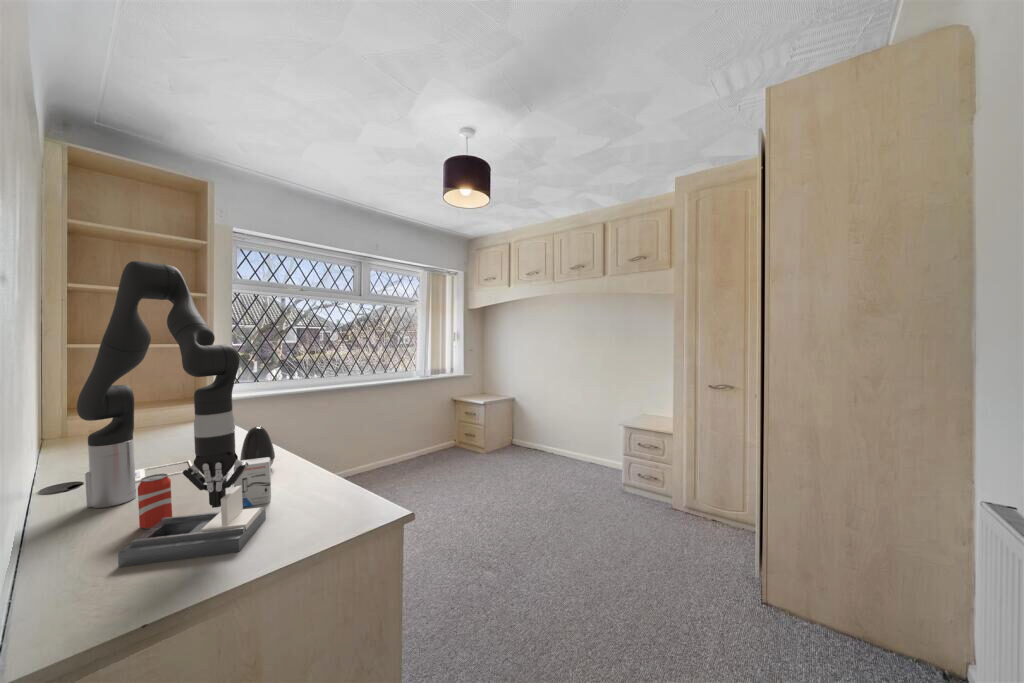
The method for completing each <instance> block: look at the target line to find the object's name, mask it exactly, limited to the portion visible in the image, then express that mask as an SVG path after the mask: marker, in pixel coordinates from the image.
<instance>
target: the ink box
mask: <svg viewBox="0 0 1024 683" xmlns="http://www.w3.org/2000/svg"><path fill="white" fill-rule="evenodd" d="M241 462H243V463H244V462H247V463H248V466H247V468H246V469H245V470H244V472H243V473H242V474H241V475H240V477H239V478H238V479H237V480H236V482H235V483H234V484H233V488H234V487H236V486H242V503H243V508H247V507H252V506H254V507H255V506H258V505H259V506H260V505H265V504H269V503H271V500H272V482H271V481H272V480H271V479H272V478H271V476H272V475H271V466H270V458H269V457H266V458H258V459H250V460H242V461H241ZM234 467H235V465H233V468H234ZM234 472H235V470H234V469H233V473H234Z"/></svg>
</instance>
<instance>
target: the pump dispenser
mask: <svg viewBox="0 0 1024 683" xmlns="http://www.w3.org/2000/svg"><path fill="white" fill-rule="evenodd" d="M275 453H276V452H275V448H274V445H273V442H272V439H271V437H270V435H269V433H268V431H267V430H266V429H265V428H264V427H263V426H262V425H260V426H253V427H252V428H250V429H249V430H248V431H247V433H246V434H245V437H244V440H243V443H242V447H241V451H240V458H239V460H240V461H242V460H250V459H258V458H266V457H269V458H270V467H272V465H273V463H274V460H275V458H276V454H275Z"/></svg>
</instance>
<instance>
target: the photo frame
mask: <svg viewBox="0 0 1024 683" xmlns="http://www.w3.org/2000/svg"><path fill="white" fill-rule="evenodd" d="M184 463H188V465H189V467H191V466H192V465H193V463H192V462H191V460H190V459H188V460H184V461H183V460H182V461H178V462H173V463H166V464H162V465H157V466H149V467H144V468H139V469H135V484H136V483H140V482H141V481H140V480H141V479H142V478H144V477H146V470H148V471H149V470H154V469H160V468H165V467H169V466H175V465H178V464H179V465H180V464H184ZM183 471H184V470H183ZM183 471H182V470H181V471H177V472H172V473H167V474H168V475H167V476H168V477H170V476H174V475H180V474H183Z"/></svg>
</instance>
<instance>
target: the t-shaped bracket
mask: <svg viewBox="0 0 1024 683" xmlns="http://www.w3.org/2000/svg"><path fill="white" fill-rule="evenodd" d="M220 510H221V511H219V512H220V513H219V514H218V515H216V516H215V517H214V518H213V519H212V520H211V521H210V522H209V523H208V524H207V525H206V526H204V527H203V528H202V529H201V532H204V531H213V530H222V529H230V528H239V527H245V530H246V529H247V528H248V527H249V526H250V525H251V523H252V522H253V521H254V520H255V519H256V518H257V516H258V515H259V514H260V513H261V508H260V507H252V508H244V507H243V503H242V486H236V487H234V486H233V488H232V489H231V490H230V491H229V492H227V493H226V495H225V496H224V497H223V498H222V499H221V507H220Z"/></svg>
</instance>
